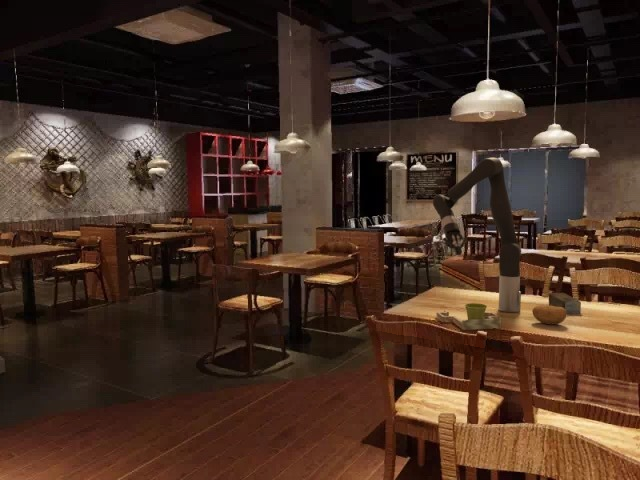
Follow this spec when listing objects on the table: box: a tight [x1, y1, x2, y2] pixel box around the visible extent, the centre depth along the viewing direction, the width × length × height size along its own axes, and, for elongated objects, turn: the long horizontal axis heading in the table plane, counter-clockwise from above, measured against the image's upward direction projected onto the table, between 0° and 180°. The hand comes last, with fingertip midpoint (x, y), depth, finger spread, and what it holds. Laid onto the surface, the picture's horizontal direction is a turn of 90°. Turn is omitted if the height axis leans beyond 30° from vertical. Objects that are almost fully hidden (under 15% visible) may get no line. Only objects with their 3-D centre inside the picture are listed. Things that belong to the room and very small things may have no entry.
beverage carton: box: [548, 292, 582, 314], centre depth 251 cm, size 8×19×7 cm, turn 178°
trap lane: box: [435, 310, 501, 331], centre depth 228 cm, size 26×23×4 cm
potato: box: [531, 305, 568, 325], centre depth 224 cm, size 10×14×8 cm
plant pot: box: [464, 302, 488, 320], centre depth 223 cm, size 9×9×9 cm
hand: (459, 254), depth 246 cm, fingers closed
